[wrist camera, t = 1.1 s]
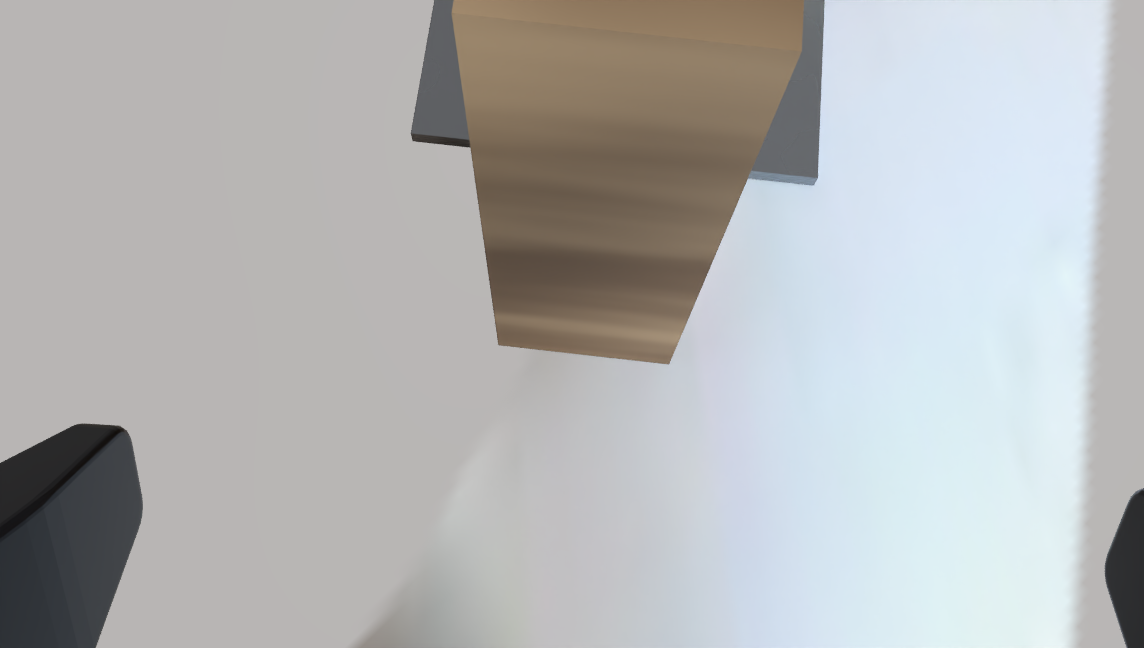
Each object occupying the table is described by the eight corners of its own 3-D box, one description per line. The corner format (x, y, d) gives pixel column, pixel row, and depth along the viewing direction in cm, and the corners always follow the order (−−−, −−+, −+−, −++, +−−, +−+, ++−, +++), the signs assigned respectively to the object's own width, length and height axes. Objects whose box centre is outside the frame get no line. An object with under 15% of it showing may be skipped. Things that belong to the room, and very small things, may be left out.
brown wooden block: (668, 364, 24) (802, 51, 12) (498, 344, 24) (451, 12, 12) (681, 208, 25) (814, -224, 13) (519, 189, 25) (497, -258, 13)
